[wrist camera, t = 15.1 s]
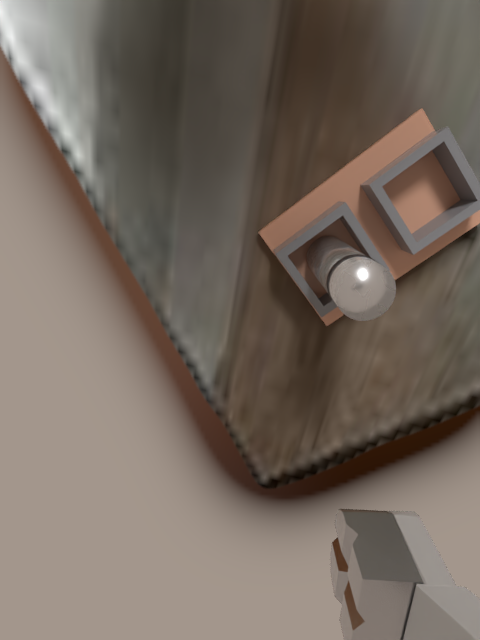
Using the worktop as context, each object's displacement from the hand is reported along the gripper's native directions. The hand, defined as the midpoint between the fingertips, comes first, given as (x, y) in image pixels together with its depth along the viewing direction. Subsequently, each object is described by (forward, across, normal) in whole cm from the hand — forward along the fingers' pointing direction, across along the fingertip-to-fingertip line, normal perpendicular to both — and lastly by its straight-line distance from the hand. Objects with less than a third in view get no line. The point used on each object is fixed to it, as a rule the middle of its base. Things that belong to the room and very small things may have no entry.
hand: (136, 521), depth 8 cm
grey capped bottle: (+34, -10, -1) cm, 35 cm away
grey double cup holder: (+35, -14, -4) cm, 38 cm away
